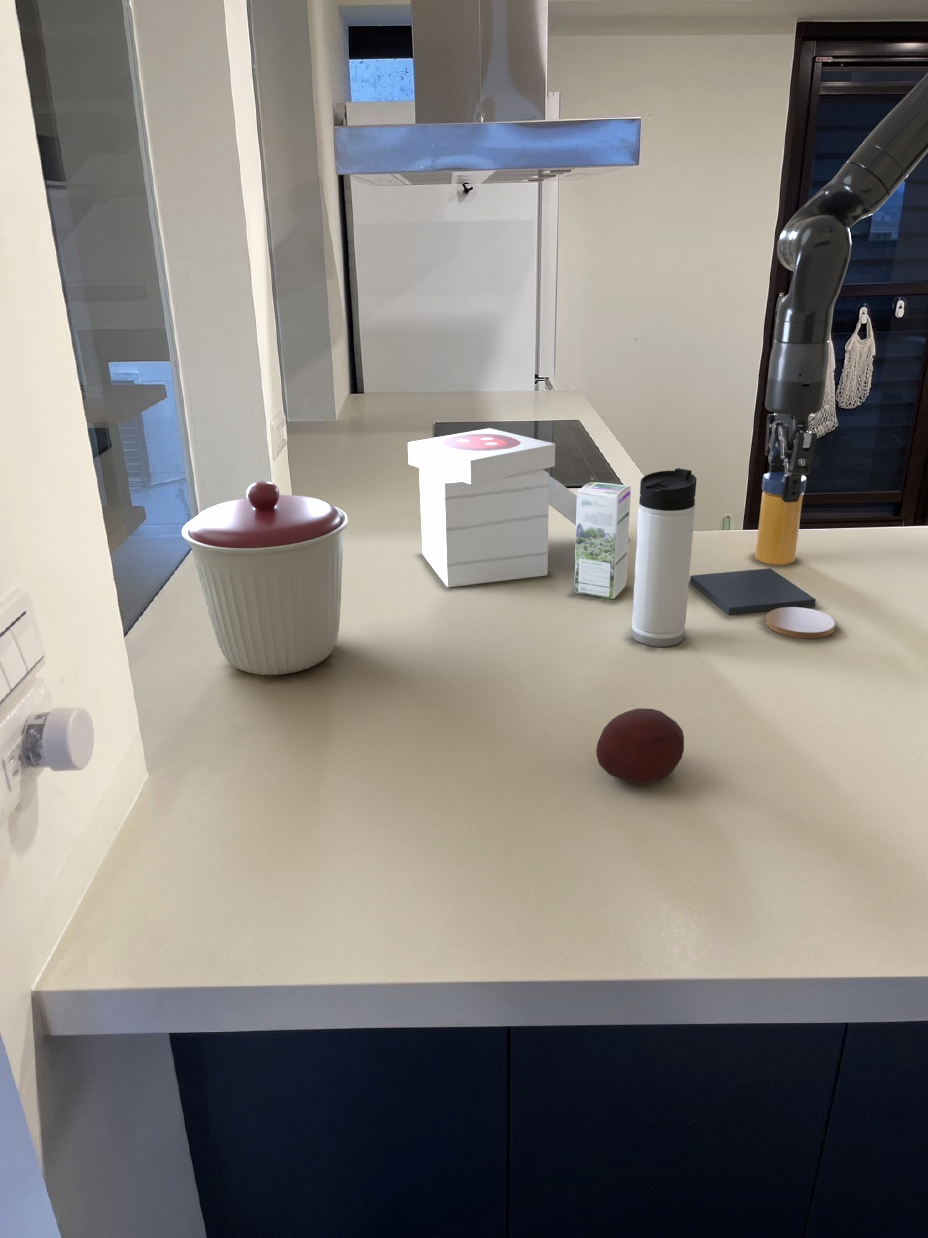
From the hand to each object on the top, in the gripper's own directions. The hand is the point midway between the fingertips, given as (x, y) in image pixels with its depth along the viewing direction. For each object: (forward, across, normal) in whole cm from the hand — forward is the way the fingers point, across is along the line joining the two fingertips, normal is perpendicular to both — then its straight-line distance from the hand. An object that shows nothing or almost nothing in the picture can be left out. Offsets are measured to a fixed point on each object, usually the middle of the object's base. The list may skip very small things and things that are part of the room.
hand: (782, 494), depth 130 cm
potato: (+10, +56, -30) cm, 65 cm away
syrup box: (+10, +11, -27) cm, 31 cm away
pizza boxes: (+10, -2, -38) cm, 39 cm away
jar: (+10, 0, 0) cm, 10 cm away
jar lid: (-2, 0, 0) cm, 2 cm away
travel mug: (+10, +27, -22) cm, 36 cm away
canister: (+10, +30, -68) cm, 75 cm away
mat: (+10, +14, -8) cm, 18 cm away
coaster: (+10, +24, -5) cm, 26 cm away
